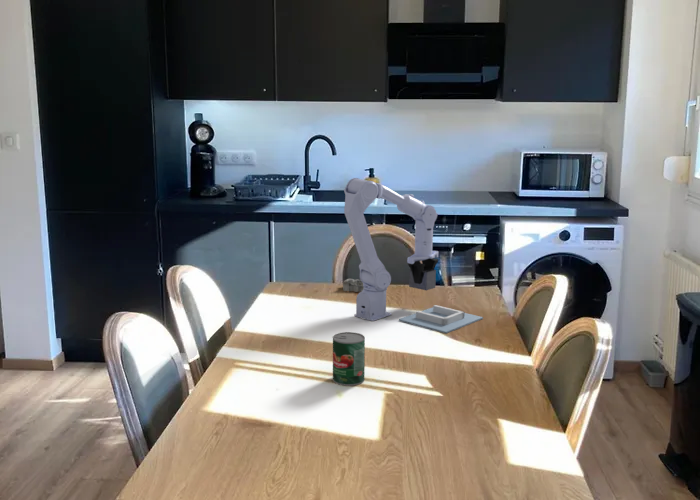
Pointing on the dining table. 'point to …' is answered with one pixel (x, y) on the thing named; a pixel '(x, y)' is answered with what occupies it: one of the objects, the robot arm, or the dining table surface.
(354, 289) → the egg carton
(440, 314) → the coupler cradle
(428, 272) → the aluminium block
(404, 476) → the dining table surface
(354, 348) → the canned tomato
